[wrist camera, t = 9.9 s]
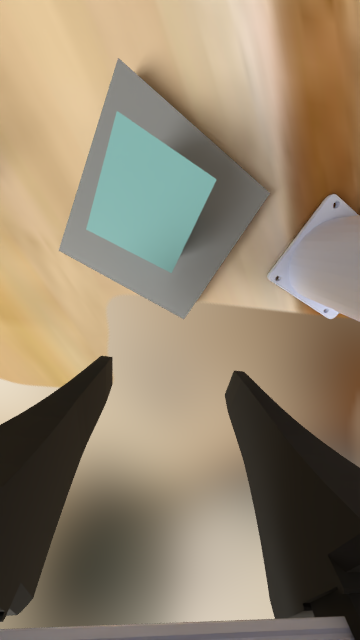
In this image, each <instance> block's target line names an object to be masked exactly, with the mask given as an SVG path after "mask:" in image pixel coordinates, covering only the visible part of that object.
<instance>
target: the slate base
mask: <svg viewBox="0 0 360 640" xmlns="http://www.w3.org/2000/svg"><path fill="white" fill-rule="evenodd" d="M117 111H118V112H119V113H121V114H122V115H124V116H125V117H127V118H128V119H130V120H131V121H132V122H134V123H135V124H137V125H138V126H140V127H141V128H143V129H144V130H146V131H147V132H148V133H150V134H151V135H153V136H154V137H156V138H157V139H159V140H160V141H162V142H163V143H164V144H166V145H167V146H169V147H170V148H172V149H173V150H175V151H176V152H178V153H179V154H180V155H182V156H183V157H185V158H186V159H188V160H189V161H191V162H192V163H193V164H195V165H196V166H198V167H199V168H201V169H202V170H204V171H205V172H207V173H208V174H209V175H211V176H212V177H214V178H215V179H217V180H216V182H215V184H214V186H213V188H212V190H211V192H210V195H209V197H208V199H207V201H206V203H205V205H204V207H203V209H202V211H201V213H200V215H199V217H198V219H197V221H196V224H195V226H194V228H193V230H192V232H191V234H190V236H189V238H188V240H187V242H186V244H185V246H184V248H183V250H182V253H181V255H180V257H179V259H178V261H177V263H176V265H175V267H174V269H173V271H172V273H170V272H168V271H166V270H164V269H162V268H160V267H158V266H156V265H155V264H153V263H151V262H149V261H147V260H145V259H143V258H141V257H139V256H137V255H135V254H133V253H131V252H129V251H127V250H125V249H123V248H121V247H119V246H117V245H115V244H113V243H112V242H110V241H108V240H106V239H104V238H102V237H100V236H98V235H96V234H94V233H92V232H90V231H88V230H86V228H87V224H88V220H89V217H90V213H91V209H92V205H93V201H94V197H95V193H96V189H97V186H98V182H99V178H100V174H101V170H102V166H103V162H104V159H105V155H106V151H107V147H108V143H109V139H110V135H111V131H112V128H113V124H114V120H115V116H116V112H117ZM269 194H270V193H269V192H268V191H267V190H266V189H265V188H264V187H263V186H261V185H260V184H259V183H258V182H257V181H256V180H255V179H254V178H252V177H251V176H250V175H249V174H248V173H247V172H246V171H245V170H243V169H242V168H241V167H240V166H239V165H238V164H237V163H236V162H234V161H233V160H232V159H231V158H230V157H229V156H228V155H227V154H226V153H224V152H223V151H222V150H221V149H220V148H219V147H218V146H217V145H215V144H214V143H213V142H212V141H211V140H210V139H209V138H208V137H206V136H205V135H204V134H203V133H202V132H201V131H200V130H199V129H197V128H196V127H195V126H194V125H193V124H192V123H191V122H190V121H188V120H187V119H186V118H185V117H184V116H183V115H182V114H181V113H179V112H178V111H177V110H176V109H175V108H174V107H173V106H172V105H171V104H169V103H168V102H167V101H166V100H165V99H164V98H163V97H162V96H160V95H159V94H158V93H157V92H156V91H155V90H154V89H153V88H151V87H150V86H149V85H148V84H147V83H146V82H145V81H144V80H142V79H141V78H140V77H139V76H138V75H137V74H136V73H135V72H133V71H132V70H131V69H130V68H129V67H128V66H127V65H126V64H125V63H123V62H122V61H121V60H120V59H119V58H118V61H117V64H116V67H115V70H114V73H113V77H112V80H111V83H110V86H109V90H108V93H107V96H106V99H105V103H104V106H103V109H102V112H101V116H100V119H99V122H98V125H97V128H96V132H95V135H94V138H93V141H92V145H91V148H90V151H89V154H88V158H87V161H86V164H85V167H84V171H83V174H82V177H81V180H80V184H79V187H78V190H77V193H76V196H75V200H74V203H73V206H72V209H71V213H70V216H69V219H68V222H67V226H66V229H65V232H64V235H63V239H62V242H61V245H60V248H59V251H61V252H62V253H64V254H66V255H68V256H70V257H71V258H73V259H75V260H77V261H79V262H81V263H82V264H84V265H86V266H88V267H90V268H92V269H93V270H95V271H97V272H99V273H101V274H102V275H104V276H106V277H108V278H110V279H112V280H113V281H115V282H117V283H119V284H121V285H122V286H124V287H126V288H128V289H130V290H132V291H133V292H135V293H137V294H139V295H141V296H142V297H144V298H146V299H148V300H150V301H152V302H153V303H155V304H158V305H159V306H161V307H162V308H164V309H166V310H168V311H170V312H172V313H173V314H175V315H177V316H179V317H181V318H183V319H185V317H186V316H187V314H188V313H189V311H190V310H191V308H192V307H193V305H194V304H195V302H196V301H197V300H198V298H199V297H200V295H201V294H202V292H203V291H204V289H205V288H206V286H207V285H208V283H209V282H210V281H211V279H212V278H213V276H214V275H215V273H216V272H217V270H218V269H219V267H220V266H221V264H222V263H223V262H224V260H225V259H226V257H227V256H228V254H229V253H230V251H231V250H232V248H233V247H234V245H235V244H236V242H237V241H238V240H239V238H240V237H241V235H242V234H243V232H244V231H245V229H246V228H247V226H248V225H249V223H250V222H251V221H252V219H253V218H254V216H255V215H256V213H257V212H258V210H259V209H260V207H261V206H262V204H263V203H264V201H265V200H266V199H267V197H268V196H269Z"/></svg>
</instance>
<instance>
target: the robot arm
mask: <svg viewBox="0 0 360 640" xmlns="http://www.w3.org/2000/svg"><path fill="white" fill-rule="evenodd" d="M334 203H336V206H335V208H333V204H334ZM277 276H279V278H278V280H275V278H276V277H277ZM267 277H268V279H269V280H270V281H271V282H273V283H275V284H276V285H278V286H279V287H281V288H282V289H284V290H285V291H287V292H288V293H290V294H291V295H293V296H294V297H296V298H297V299H299V300H301V301H302V302H304V303H305V304H307V305H308V306H310V307H311V308H313V309H314V310H316V311H317V312H319V313H320V314H322V315H323V316H325V317H327V318H329V319H332V318H334V317H336V316H337V315H338V314H339V313H341V314H344V315H346V316H348V317H350V318H353V319H355V320H357V321H360V215H358V214H357V213H356V212H355V211H354V210H353V209H352V208H350V207H349V206H348V205H347V204H346V203H345V202H344V201H343V200H342V199H341V198H340V197H338V196H337V195H336V194H332V195H329V196H327V197H326V198H325V199H324V200H323V202H322V203H321V204H320V206H319V207H318V208H317V210H316V211H315V212H314V214H313V215H312V216H311V218H310V219H309V220H308V222H307V223H306V224H305V226H304V227H303V228H302V230H301V231H300V232H299V233H298V235H297V236H296V237H295V239H294V240H293V241H292V243H291V244H290V245H289V247H288V248H287V249H286V251H285V252H284V253H283V255H282V256H281V257H280V259H279V260H278V261H277V263H276V264H275V265H274V267H273V268H272V269H271V270H270V272H269V273H268V276H267ZM325 309H326V310H325ZM324 310H325V311H324ZM111 386H112V357H107V356H101V357H99V358H98V359H97V360H95V361H94V362H93V363H92V364H91V365H89V366H88V367H87V368H86V369H84V370H83V371H82V372H81V373H79V374H78V375H77V376H75V377H74V378H73V379H72V380H70V381H69V382H68V383H66V384H65V385H64V386H62V387H61V388H59V389H58V390H57V391H55V392H54V393H52V394H51V395H50V396H48V397H46V398H45V399H43V400H42V401H40V402H39V403H37V404H36V405H34V406H33V407H31V408H29V409H28V410H26V411H24V412H23V413H21V414H19V415H18V416H16V417H14V418H12V419H10V420H9V421H7V422H5V423H3V424H1V425H0V622H3V620H4V619H5V617H6V616H7V615H18V614H19V613H20V612H21V611H22V610H23V609H24V608H25V607H26V606H27V605H28V604H29V602H30V601H31V600H32V599H33V597H34V593H35V590H36V587H37V584H38V581H39V578H40V575H41V572H42V569H43V566H44V562H45V560H46V556H47V553H48V550H49V547H50V544H51V541H52V538H53V535H54V532H55V530H56V527H57V524H58V521H59V518H60V515H61V512H62V509H63V506H64V503H65V501H66V498H67V495H68V492H69V489H70V486H71V484H72V481H73V478H74V475H75V473H76V470H77V467H78V465H79V462H80V459H81V457H82V454H83V452H84V449H85V447H86V445H87V442H88V440H89V438H90V436H91V434H92V432H93V430H94V427H95V425H96V423H97V421H98V419H99V416H100V415H101V412H102V410H103V408H104V406H105V404H106V401H107V398H108V395H109V393H110V389H111ZM225 398H226V404H227V409H228V413H229V416H230V420H231V423H232V426H233V429H234V432H235V435H236V438H237V441H238V444H239V448H240V451H241V453H242V457H243V460H244V464H245V468H246V472H247V477H248V481H249V485H250V490H251V495H252V500H253V504H254V509H255V514H256V519H257V524H258V530H259V535H260V540H261V546H262V552H263V558H264V564H265V570H266V577H267V582H268V590H269V597H270V601H271V605H272V609H273V613H274V617H275V619H262V620H235V621H209V622H183V623H157V624H156V623H155V624H129V625H102V626H76V627H48V628H22V629H0V640H360V468H359V467H358V466H356V465H355V464H353V463H352V462H350V461H349V460H347V459H346V458H344V457H343V456H341V455H340V454H339V453H337V452H336V451H334V450H333V449H332V448H330V447H329V446H327V445H326V444H325V443H323V442H322V441H321V440H319V439H318V438H317V437H315V436H314V435H313V434H311V433H310V432H309V431H308V430H307V429H305V428H304V427H303V426H301V425H300V424H299V423H298V422H297V421H296V420H294V419H293V418H292V417H291V416H290V415H289V414H288V413H286V412H285V411H284V410H283V409H282V408H281V407H280V406H279V405H278V404H277V403H275V402H274V401H273V400H272V399H271V398H270V397H269V396H268V395H267V394H266V393H265V392H264V391H263V390H262V389H261V388H260V387H259V386H258V385H257V384H256V383H255V382H254V381H253V380H252V379H251V378H250V377H249V376H248V375H247V374H246V373H245V372H242V371H234V372H233V375H232V377H231V380H230V383H229V386H228V388H227V391H226V393H225Z"/></svg>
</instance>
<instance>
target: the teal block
mask: <svg viewBox="0 0 360 640" xmlns="http://www.w3.org/2000/svg"><path fill="white" fill-rule="evenodd" d="M216 180H217V179H215V178H214V177H212V176H211V175H209V174H208V173H207V172H205V171H204V170H202V169H201V168H199V167H198V166H196V165H195V164H193V163H192V162H191V161H189V160H188V159H186V158H185V157H183V156H182V155H180V154H179V153H178V152H176V151H175V150H173V149H172V148H170V147H169V146H167V145H166V144H164V143H163V142H162V141H160V140H159V139H157V138H156V137H154V136H153V135H151V134H150V133H148V132H147V131H146V130H144V129H143V128H141V127H140V126H138V125H137V124H135V123H134V122H132V121H131V120H130V119H128V118H127V117H125V116H124V115H122V114H121V113H119V112H118V111H117V112H116V116H115V120H114V124H113V128H112V131H111V135H110V139H109V143H108V147H107V151H106V155H105V159H104V162H103V166H102V170H101V174H100V178H99V182H98V186H97V189H96V193H95V197H94V201H93V205H92V209H91V213H90V217H89V220H88V224H87V228H86V230H88V231H90V232H92V233H94V234H96V235H98V236H100V237H102V238H104V239H106V240H108V241H110V242H112V243H113V244H115V245H117V246H119V247H121V248H123V249H125V250H127V251H129V252H131V253H133V254H135V255H137V256H139V257H141V258H143V259H145V260H147V261H149V262H151V263H153V264H155V265H156V266H158V267H160V268H162V269H164V270H166V271H168V272H170V273H172V271H173V269H174V267H175V265H176V263H177V261H178V259H179V257H180V255H181V253H182V250H183V248H184V246H185V244H186V242H187V240H188V238H189V236H190V234H191V232H192V230H193V228H194V226H195V224H196V221H197V219H198V217H199V215H200V213H201V211H202V209H203V207H204V205H205V203H206V201H207V199H208V197H209V195H210V192H211V190H212V188H213V186H214V184H215V182H216Z"/></svg>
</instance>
